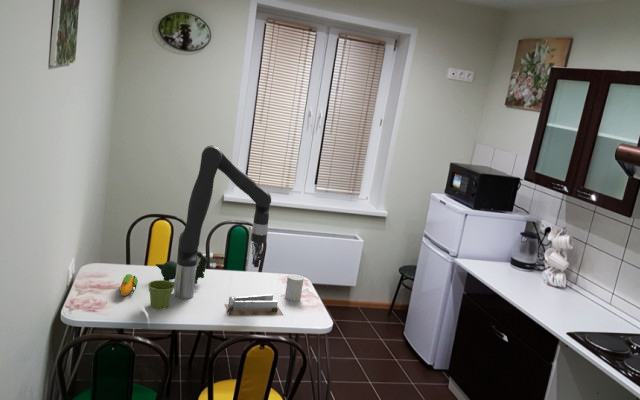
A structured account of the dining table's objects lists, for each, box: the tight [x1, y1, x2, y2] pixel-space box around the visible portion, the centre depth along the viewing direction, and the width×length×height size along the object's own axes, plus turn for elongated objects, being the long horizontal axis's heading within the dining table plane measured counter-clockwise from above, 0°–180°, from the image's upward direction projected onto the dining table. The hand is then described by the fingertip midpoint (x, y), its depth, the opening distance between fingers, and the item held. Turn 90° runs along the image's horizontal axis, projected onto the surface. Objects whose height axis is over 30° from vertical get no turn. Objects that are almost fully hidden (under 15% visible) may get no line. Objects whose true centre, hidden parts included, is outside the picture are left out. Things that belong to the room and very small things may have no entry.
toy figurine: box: [155, 251, 208, 285], centre depth 279 cm, size 9×19×25 cm
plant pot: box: [147, 279, 175, 310], centre depth 247 cm, size 12×12×11 cm
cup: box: [284, 274, 305, 302], centre depth 280 cm, size 8×8×12 cm
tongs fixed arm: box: [228, 296, 279, 312], centre depth 258 cm, size 24×4×6 cm, turn 110°
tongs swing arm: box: [234, 293, 274, 301], centre depth 262 cm, size 20×2×5 cm, turn 122°
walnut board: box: [224, 303, 284, 317], centre depth 259 cm, size 26×13×1 cm, turn 110°
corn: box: [119, 273, 139, 296], centre depth 259 cm, size 7×8×20 cm
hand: (255, 265), depth 266 cm, fingers open, 3 cm apart
